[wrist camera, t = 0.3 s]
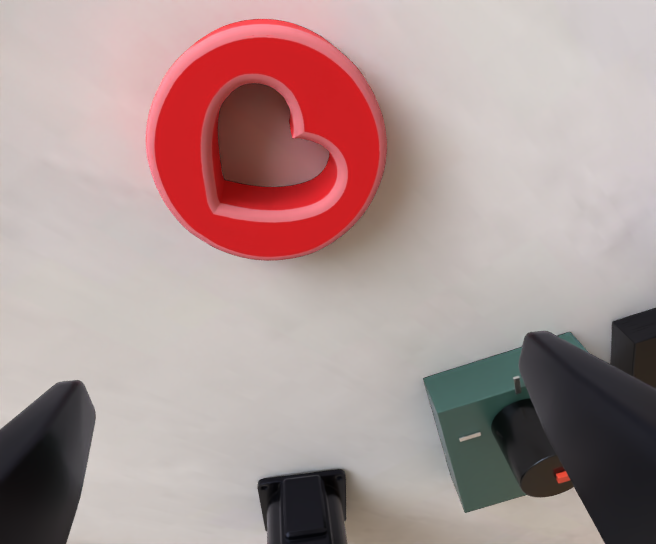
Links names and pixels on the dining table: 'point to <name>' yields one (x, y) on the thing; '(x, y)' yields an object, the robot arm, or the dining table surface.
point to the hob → (636, 346)
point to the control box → (478, 424)
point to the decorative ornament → (305, 123)
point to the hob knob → (529, 450)
